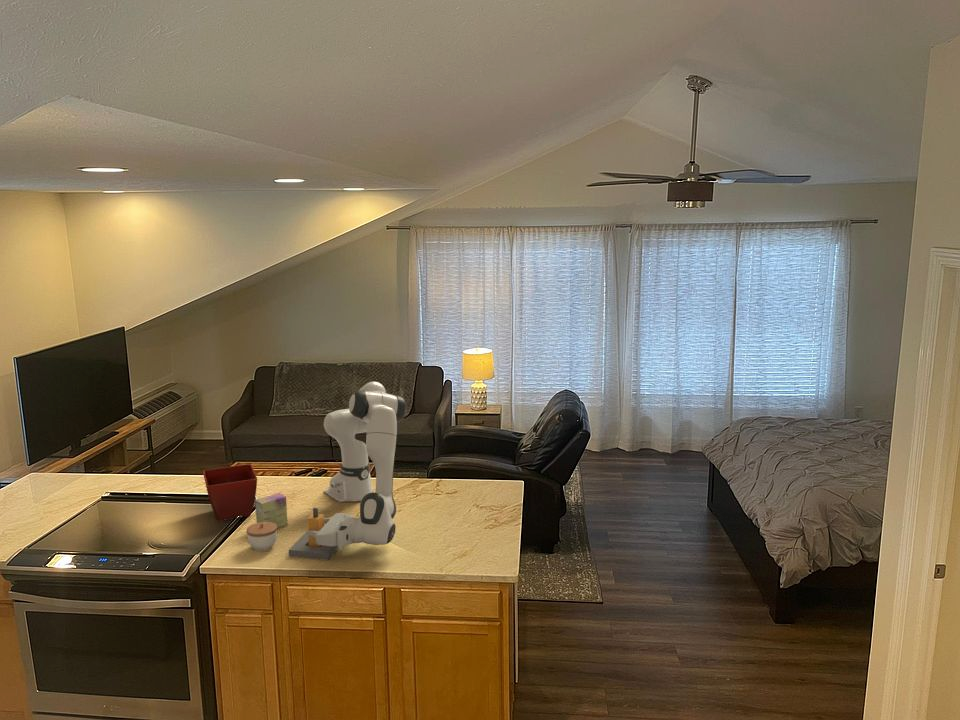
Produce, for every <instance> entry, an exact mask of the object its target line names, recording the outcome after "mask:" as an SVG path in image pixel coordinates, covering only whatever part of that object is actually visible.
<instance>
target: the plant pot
mask: <svg viewBox="0 0 960 720" xmlns="http://www.w3.org/2000/svg"><path fill="white" fill-rule="evenodd" d="M255 472H256V471H254V468H253V465H252V464H250V463H247V464H241V465H240V464H239V465H233V466H225V467H224V466H223V467H218V468H211V469H204V470H203V471H202V473H203V479H204V483H205V488H206V492H207V496H208V499H209V503H210V506H211V508H212V512H213V513H214V516H215V519H216V520H224V519H230V520H232V519H231V518H235V517H237V516H240V515H242V516H244V517H243V518H248V517H250V516H251V515H252V513H253V512H252V511H253V509H254V505H255V500H256V495H257V486H258V484H257V483H258V476H257V475H256V473H255ZM224 521H225V520H224Z"/></svg>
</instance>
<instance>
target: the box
mask: <svg viewBox="0 0 960 720" xmlns="http://www.w3.org/2000/svg"><path fill="white" fill-rule="evenodd" d="M254 505H255V517H256V523H259V522H272V523H275V524H276V525H277V529H278V528H281V527H284V526H288V511H287V510H288V507H287V496H286V495H284V494H282V493H279V492H278V493H274V494H270V495H267V496H264V497H261V498H255V501H254Z"/></svg>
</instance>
